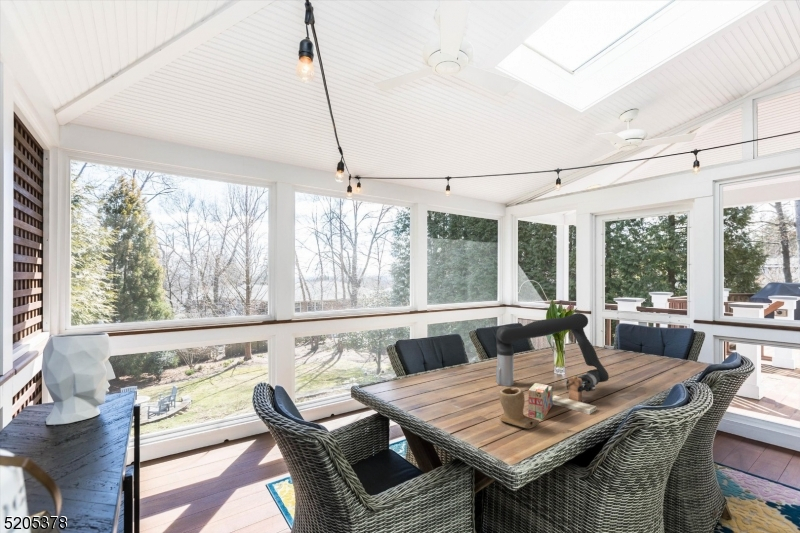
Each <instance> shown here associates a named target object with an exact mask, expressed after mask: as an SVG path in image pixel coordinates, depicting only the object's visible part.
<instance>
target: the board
mask: <svg viewBox="0 0 800 533" xmlns="http://www.w3.org/2000/svg"><path fill="white" fill-rule="evenodd" d="M553 405H554V406H558V407H562V408H565V409H569V410H573V411H577V412H580V413H584V414H587V415H591V414H593V413H594V412H595V411H597V405H592V404H589V403H585V402H582V401H580V402H578V401H574V400H570V399H569V398H567V397H562V396H559V395H555V394H553Z"/></svg>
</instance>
